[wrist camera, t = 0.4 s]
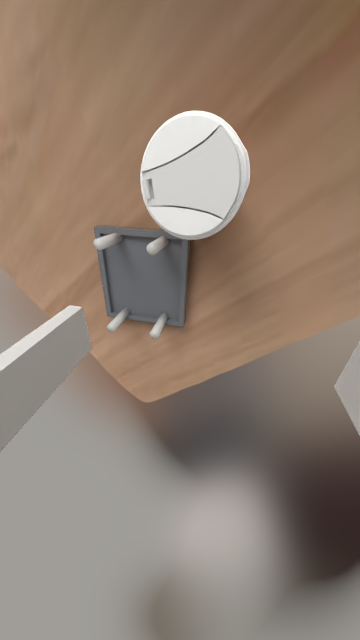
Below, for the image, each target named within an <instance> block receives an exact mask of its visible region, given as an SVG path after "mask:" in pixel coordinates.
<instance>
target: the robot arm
mask: <svg viewBox="0 0 360 640" xmlns="http://www.w3.org/2000/svg"><path fill="white" fill-rule="evenodd" d="M91 349H92V345H91V341H90V336H89V332H88V328H87V324H86V319H85V315H84V311H83V307H78V306H70V305H69V306H68V307H67V308H65V309H64V310H62V311H61V312H60V313H58V314H57V315H55V316H54V317H52V318H51V319H50V320H48V321H47V322H45V323H44V324H43V325H41V326H40V327H38V328H37V329H36V330H34V331H33V332H31V333H30V334H28V335H27V336H26V337H24V338H23V339H21V340H20V341H19V342H17V343H16V344H14V345H13V346H12V347H10V348H9V349H7V350H6V351H4V352H3V353H2V354H0V452H1V451H2V450H3V449H4V447H5V446H6V445H7V444H8V443H9V442H10V441H11V439H12V438H13V437H14V436H15V435H16V434H17V433H18V432H19V430H20V429H21V428H22V427H23V426H24V425H25V424H26V423H27V421H28V420H29V419H30V418H31V417H32V416H33V415H34V414H35V412H36V411H37V410H38V409H39V408H40V407H41V406H42V404H43V403H44V402H45V401H46V400H47V399H48V398H49V397H50V395H51V394H52V393H53V392H54V391H55V390H56V389H57V387H58V386H59V385H60V384H61V383H62V382H63V381H64V380H65V378H66V377H67V376H68V375H69V374H70V373H71V372H72V371H73V369H74V368H75V367H76V366H77V365H78V364H79V363H80V362H81V360H82V359H83V358H84V357H85V356H86V355H87V354H88V353H89V351H90V350H91ZM334 388H335V389H336V391H337V393H338V395H339V397H340V399H341V401H342V403H343V405H344V407H345V409H346V411H347V412H348V414H349V416H350V418H351V420H352V422H353V424H354V426H355V428H356V430H357V432H358V433H359V435H360V342H359V343H358V345H357V347H356V348H355V350H354V352H353V353H352V355H351V357H350V359H349V361H348V362H347V364H346V366H345V368H344V369H343V371H342V373H341V375H340V377H339V379H338V380H337V382H336V384H335V386H334Z"/></svg>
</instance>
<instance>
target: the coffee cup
mask: <svg viewBox="0 0 360 640" xmlns="http://www.w3.org/2000/svg"><path fill="white" fill-rule="evenodd" d="M249 180H250V162H249V157H248V152H247V150H246V149H245V147H244V145H243V144H242V142H241V140H240V139H239V137H238V135H237V133H236V132H235V131H234V130H233V128H232V127H231V126H230V125H229V124H228V123H227V122H226V121H224V120H223V119H222V118H220V117H218V116H216V115H215V114H212V113H209V112H205V111H195V110H194V111H188V112H183V113H181V114H178V115H175V116H174V117H172V118H170V119H169V120H167V121H166V122H165V123H164V124H163V125H162V126H160V127H159V129H158V130H157V131H156V132H155V134H154V135H153V136H152V138H151V140H150V142H149V143H148V145H147V148H146V150H145V153H144V156H143V160H142V165H141V173H140V183H141V191H142V195H143V199H144V202H145V205H146V207H147V210H148V211H149V213H150V215H151V217H152V218H153V219H154V221H155V222H156V223H157V224H158V225H159V226H160V227H161V228H162V229H163V230H165V231H166V232H167V233H169V234H171V235H173V236H175V237H178V238H181V239H187V240H198V239H203V238H206V237H209V236H212V235H213V234H215V233H217V232H219V231H220V230H221V229H223V228H224V227H225V226H226V225H227V224H228V223H229V222H230V221H231V220H232V218H233V217H234V216H235V214H236V213H237V211H238V209H239V207H240V205H241V204H242V201H243V198H244V195H245V193H246V190H247V188H248V185H249Z"/></svg>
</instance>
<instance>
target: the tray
mask: <svg viewBox="0 0 360 640" xmlns="http://www.w3.org/2000/svg"><path fill="white" fill-rule="evenodd" d="M94 231H95V238H96V239H95V240H94V247H95V248H96V249H97V251H98V258H99V264H100V271H101V277H102V284H103V290H104V297H105V303H106V310H107V316H109V317H115V318H114V319H113V320H112V321H111V322H110V323H109V325H108V326H107V329H108V331H110V332H115V330H116V329H117V328H118V327H119V326H120V324H121V323H122V322H123V321H124V320H125V319H130V320H137V321H144V322H151V323H156V324H155V325H154V327H153V329H152V331H151V332H150V336H151V337H152V338H153V339H157V338H158V337H159V335H160V333H161V331H162V329H163V327H164V325H165V324H166V325H173V326H180V327H183V326H184V323H185V318H186V301H187V284H188V267H189V250H190V240H187V239H181V238H178V237H175V236H173V235H171V234H169V233H167V232H166V231H165V230H157V229H144V228H130V227H116V226H102V225H100V226H96V227H94Z"/></svg>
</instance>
